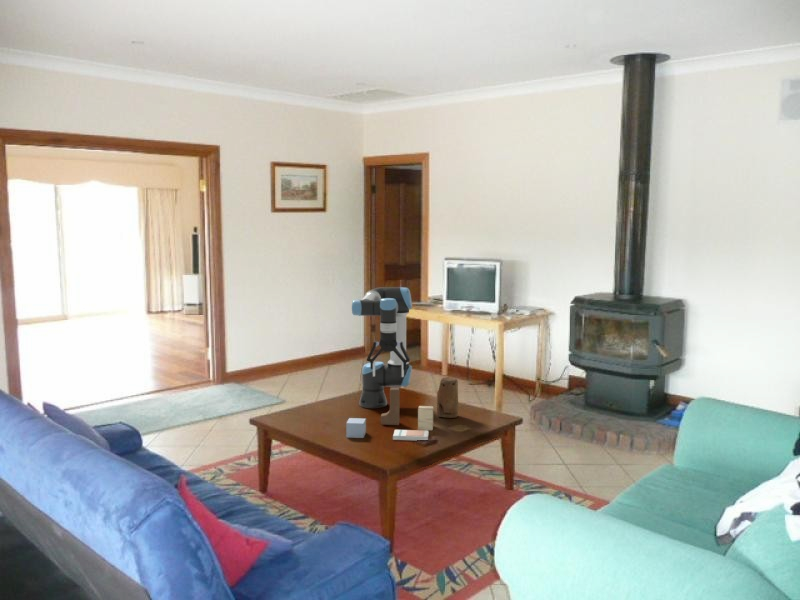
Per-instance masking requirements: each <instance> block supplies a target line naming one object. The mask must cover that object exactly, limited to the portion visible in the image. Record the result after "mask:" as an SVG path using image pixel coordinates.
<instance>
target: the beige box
mask: <svg viewBox="0 0 800 600" xmlns="http://www.w3.org/2000/svg"><path fill="white" fill-rule="evenodd" d="M433 429H434V406H432V405H428V406H427V405H419V406H418V408H417V430H424V431H433Z"/></svg>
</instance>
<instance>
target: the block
mask: <svg viewBox="0 0 800 600" xmlns="http://www.w3.org/2000/svg"><path fill="white" fill-rule="evenodd" d="M458 384H459V383H458V378H457V377H450V376H449V377H442V378H441V380H440V383H439V387H438V390H437V393H436V412H437V414H436V415H437V417H439V418H447V419H449V418H450V419H454V418H457V417H458V414H459V385H458Z"/></svg>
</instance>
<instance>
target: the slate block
mask: <svg viewBox="0 0 800 600" xmlns="http://www.w3.org/2000/svg"><path fill="white" fill-rule="evenodd" d="M345 425H346V426H345V427H346V428H345V429H346V432H345V433H346V438H349V439H351V438H353V439H354V438H355V439H363V438H365V435H366V433H367V418H360V417H358V418H357V417H355V418H354V417H349V418H348V419H347V420H346V424H345Z"/></svg>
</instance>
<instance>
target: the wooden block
mask: <svg viewBox="0 0 800 600" xmlns="http://www.w3.org/2000/svg"><path fill="white" fill-rule="evenodd" d="M380 425H381V426H386V425H387V426H399V425H400V387H390V389H389V410H388V411H387V412H384V413H383V412H382V413H381V415H380Z"/></svg>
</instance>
